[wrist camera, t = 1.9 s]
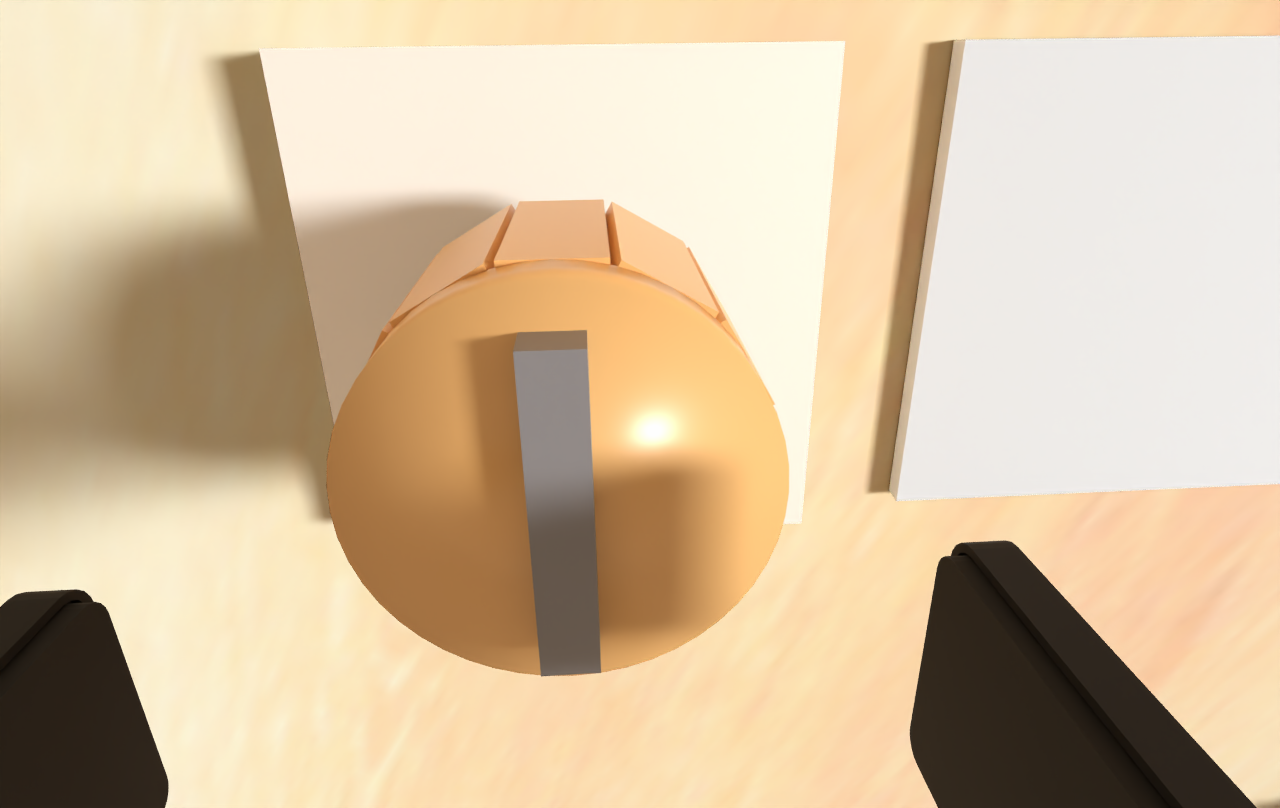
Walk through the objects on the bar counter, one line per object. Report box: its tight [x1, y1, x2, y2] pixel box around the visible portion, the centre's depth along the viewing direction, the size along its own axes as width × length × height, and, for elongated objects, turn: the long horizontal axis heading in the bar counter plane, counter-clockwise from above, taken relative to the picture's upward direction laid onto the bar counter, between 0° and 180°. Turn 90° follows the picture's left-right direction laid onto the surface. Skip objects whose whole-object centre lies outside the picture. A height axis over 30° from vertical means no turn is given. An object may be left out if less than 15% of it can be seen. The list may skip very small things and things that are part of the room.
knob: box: [326, 199, 789, 676], centre depth 13 cm, size 7×7×6 cm
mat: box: [889, 36, 1280, 501], centre depth 20 cm, size 12×12×1 cm
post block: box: [259, 41, 845, 524], centre depth 16 cm, size 12×12×8 cm
